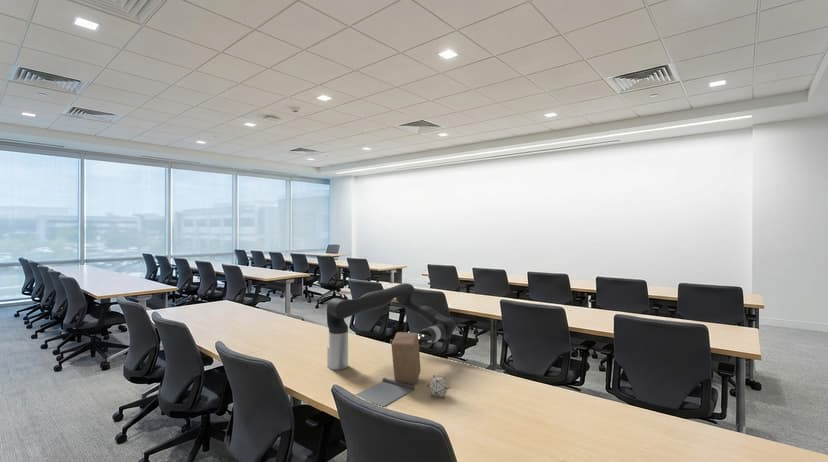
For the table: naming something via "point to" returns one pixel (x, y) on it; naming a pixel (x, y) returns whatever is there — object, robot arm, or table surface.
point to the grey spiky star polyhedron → (438, 386)
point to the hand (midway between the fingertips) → (409, 343)
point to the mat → (386, 392)
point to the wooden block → (406, 357)
